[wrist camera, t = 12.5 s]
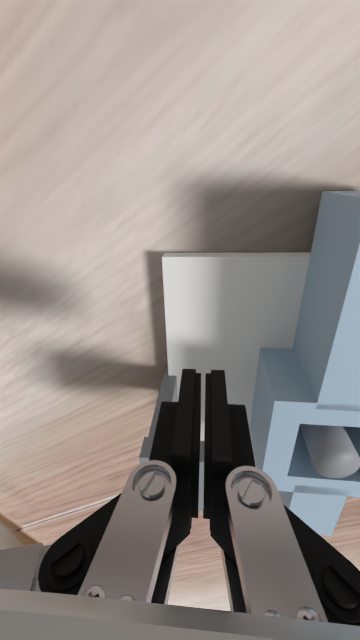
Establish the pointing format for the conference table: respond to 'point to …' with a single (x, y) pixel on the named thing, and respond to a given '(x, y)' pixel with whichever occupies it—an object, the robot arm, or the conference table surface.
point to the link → (315, 371)
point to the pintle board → (238, 337)
